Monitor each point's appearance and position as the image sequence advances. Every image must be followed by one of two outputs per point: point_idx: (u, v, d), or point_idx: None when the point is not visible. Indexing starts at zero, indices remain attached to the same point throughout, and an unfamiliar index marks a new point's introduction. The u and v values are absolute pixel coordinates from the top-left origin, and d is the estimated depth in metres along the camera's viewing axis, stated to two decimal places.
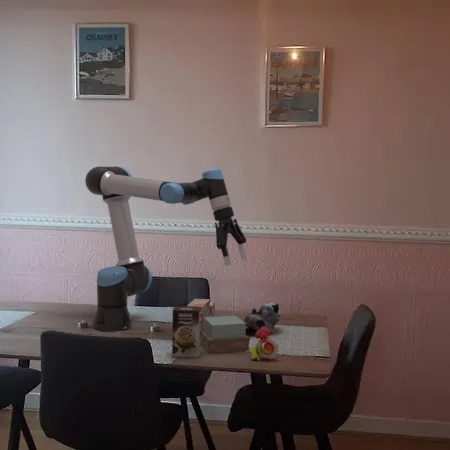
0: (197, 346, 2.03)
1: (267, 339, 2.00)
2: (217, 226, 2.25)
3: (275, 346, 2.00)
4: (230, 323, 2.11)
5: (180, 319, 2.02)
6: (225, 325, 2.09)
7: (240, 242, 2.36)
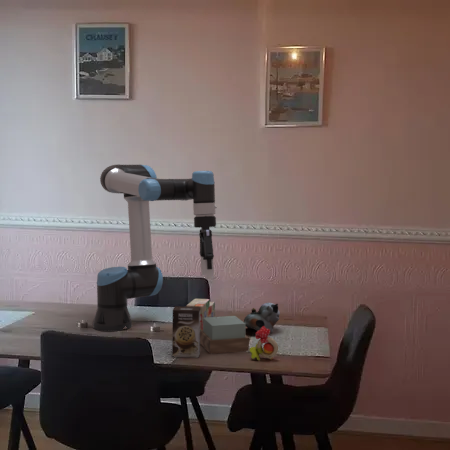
0: (197, 346, 2.03)
1: (267, 339, 2.00)
2: (206, 235, 2.04)
3: (275, 346, 2.00)
4: (230, 323, 2.11)
5: (180, 319, 2.02)
6: (225, 325, 2.09)
7: (204, 255, 2.18)
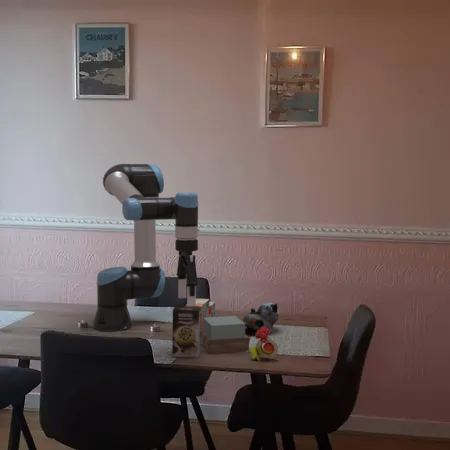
0: (197, 346, 2.03)
1: (267, 339, 2.00)
2: (190, 261, 1.97)
3: (275, 346, 2.00)
4: (229, 323, 2.11)
5: (180, 319, 2.02)
6: (224, 325, 2.09)
7: (181, 277, 2.11)
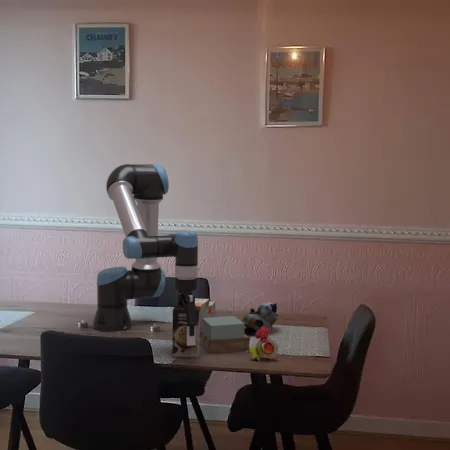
0: (197, 346, 2.03)
1: (267, 339, 2.00)
2: (189, 300, 1.98)
3: (275, 346, 2.00)
4: (229, 323, 2.11)
5: (180, 319, 2.02)
6: (224, 325, 2.09)
7: None
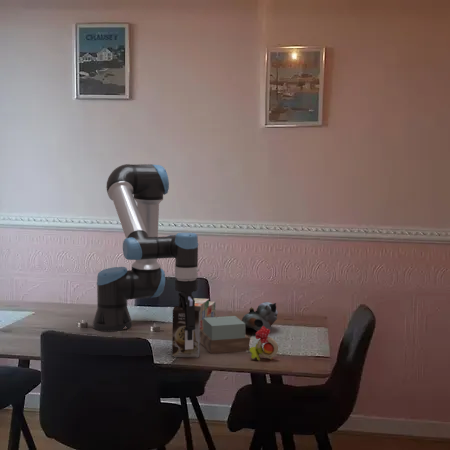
0: (197, 346, 2.03)
1: (267, 339, 2.00)
2: (189, 305, 1.99)
3: (275, 346, 2.00)
4: (230, 323, 2.11)
5: (180, 319, 2.02)
6: (225, 325, 2.09)
7: None
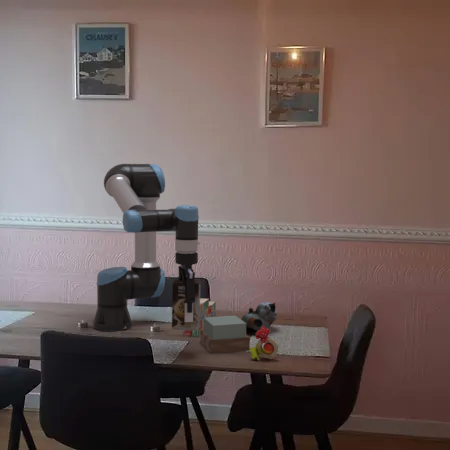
0: (197, 319, 2.02)
1: (267, 339, 2.00)
2: (189, 277, 1.98)
3: (275, 346, 2.00)
4: (231, 323, 2.11)
5: (180, 292, 2.02)
6: (226, 325, 2.09)
7: None
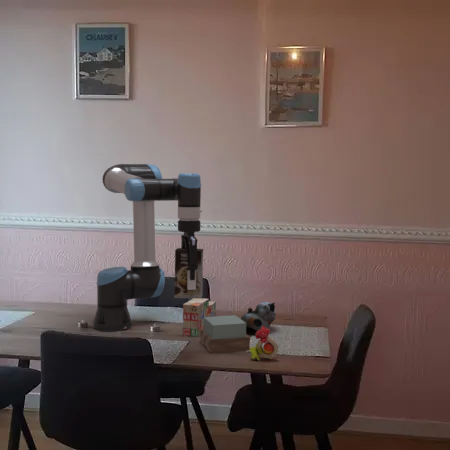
0: (200, 287, 2.02)
1: (267, 339, 2.00)
2: (192, 244, 1.97)
3: (275, 346, 2.00)
4: (231, 323, 2.12)
5: (183, 260, 2.01)
6: (226, 325, 2.10)
7: None
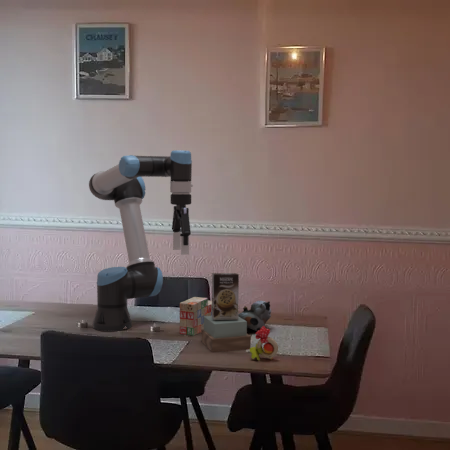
0: (237, 308, 2.15)
1: (267, 339, 2.00)
2: (183, 212, 2.13)
3: (275, 346, 2.00)
4: (232, 321, 2.14)
5: (222, 283, 2.14)
6: (227, 323, 2.12)
7: (176, 230, 2.27)
